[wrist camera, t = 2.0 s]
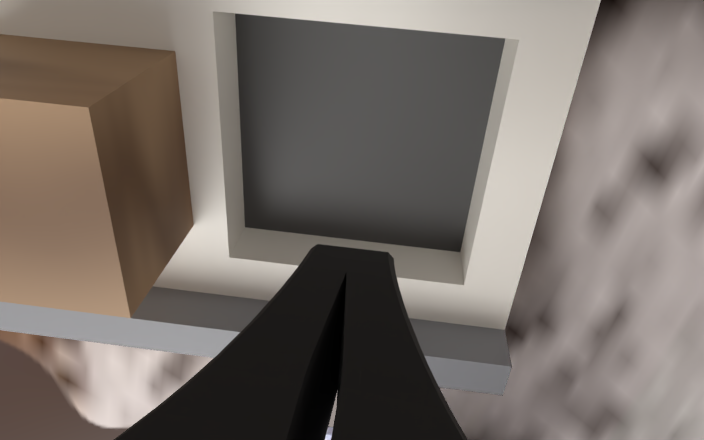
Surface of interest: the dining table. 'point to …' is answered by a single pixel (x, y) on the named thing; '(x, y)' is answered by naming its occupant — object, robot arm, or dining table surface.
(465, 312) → the deck
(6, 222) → the block
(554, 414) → the dining table surface
